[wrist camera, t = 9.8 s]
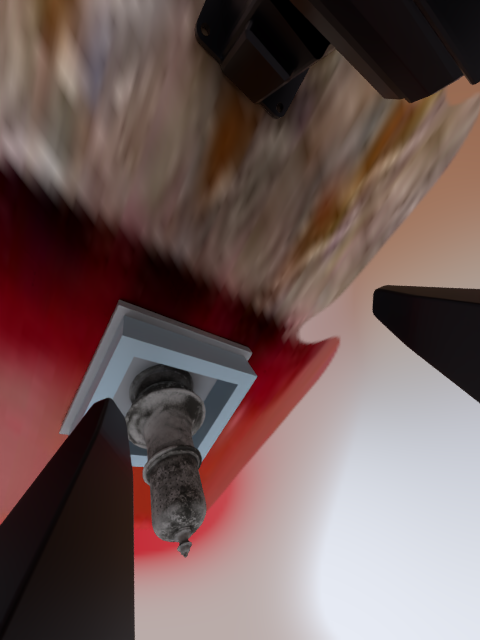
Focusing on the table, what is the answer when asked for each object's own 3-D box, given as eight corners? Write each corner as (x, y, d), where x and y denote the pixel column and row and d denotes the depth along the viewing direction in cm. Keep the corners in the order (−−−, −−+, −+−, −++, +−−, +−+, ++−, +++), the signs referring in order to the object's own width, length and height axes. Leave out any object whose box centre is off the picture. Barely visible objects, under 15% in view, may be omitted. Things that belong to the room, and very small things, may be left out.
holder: (119, 299, 19) (115, 323, 15) (248, 347, 25) (266, 372, 21) (62, 423, 21) (48, 467, 18) (191, 439, 27) (199, 474, 24)
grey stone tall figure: (113, 410, 21) (95, 608, 11) (142, 352, 20) (150, 517, 10) (179, 420, 24) (210, 584, 14) (207, 370, 23) (265, 511, 13)
